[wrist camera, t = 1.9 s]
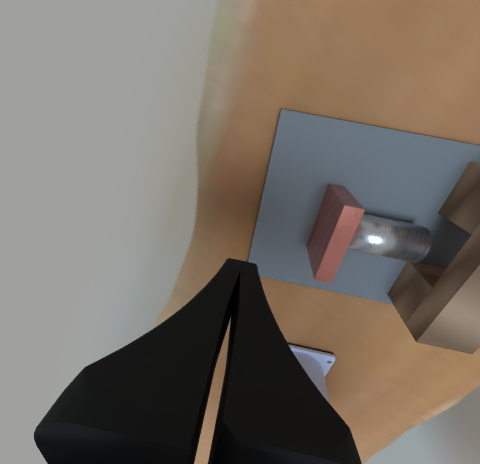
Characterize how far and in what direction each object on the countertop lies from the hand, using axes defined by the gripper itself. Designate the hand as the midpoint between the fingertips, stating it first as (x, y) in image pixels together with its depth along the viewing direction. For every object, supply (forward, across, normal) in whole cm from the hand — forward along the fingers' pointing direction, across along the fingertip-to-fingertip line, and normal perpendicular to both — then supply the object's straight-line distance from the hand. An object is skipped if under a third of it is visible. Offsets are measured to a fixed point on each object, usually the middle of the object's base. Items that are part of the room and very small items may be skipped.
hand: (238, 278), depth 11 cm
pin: (+9, -9, 0) cm, 13 cm away
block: (+9, -16, 0) cm, 18 cm away
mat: (+10, -10, 0) cm, 14 cm away
